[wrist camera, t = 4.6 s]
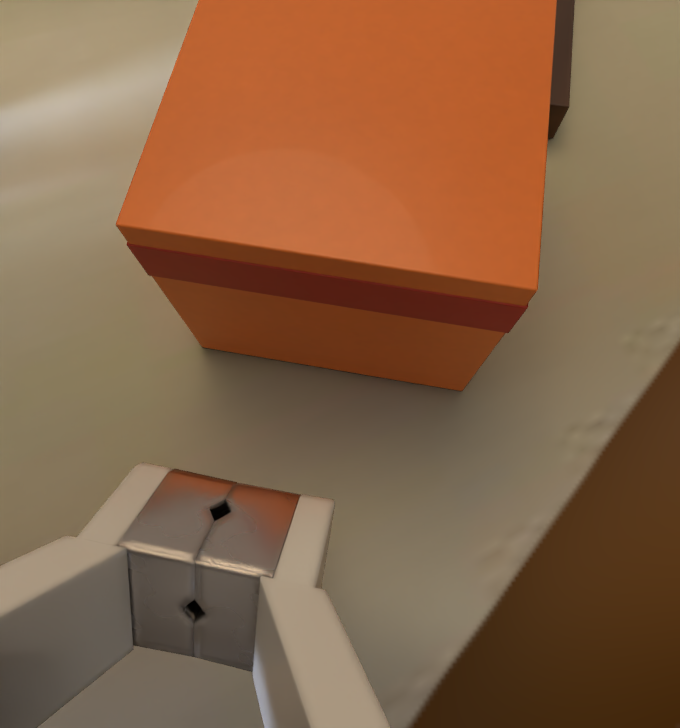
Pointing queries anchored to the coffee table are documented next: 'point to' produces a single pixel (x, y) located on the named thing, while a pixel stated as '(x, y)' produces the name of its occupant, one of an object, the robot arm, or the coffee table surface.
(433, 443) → the coffee table surface
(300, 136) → the orange lidded box
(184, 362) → the coffee table surface
